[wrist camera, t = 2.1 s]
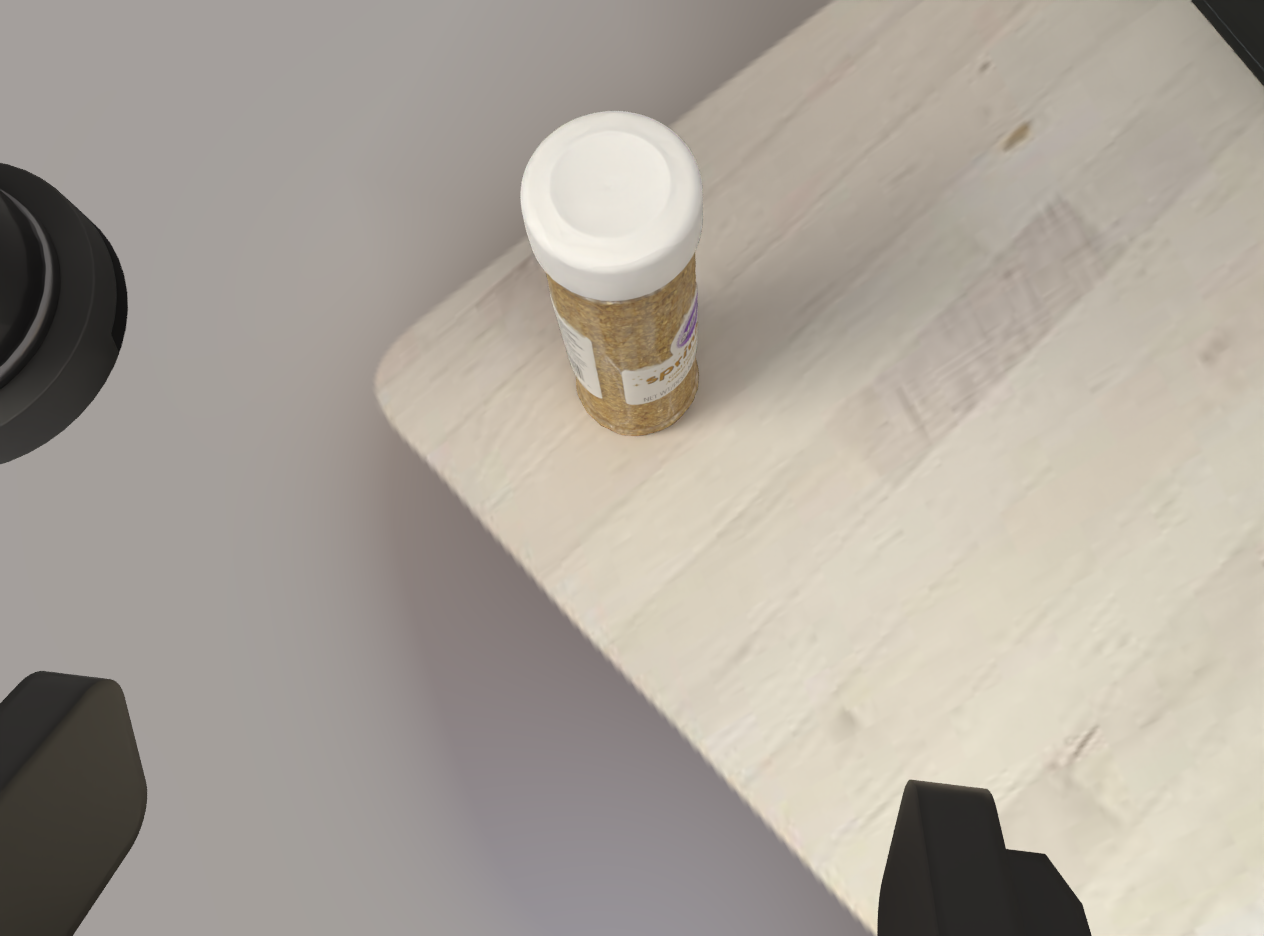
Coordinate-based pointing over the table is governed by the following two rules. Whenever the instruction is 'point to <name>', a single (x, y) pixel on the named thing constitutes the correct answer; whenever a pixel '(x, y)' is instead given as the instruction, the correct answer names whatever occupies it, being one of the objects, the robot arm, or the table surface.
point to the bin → (1239, 28)
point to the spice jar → (620, 262)
